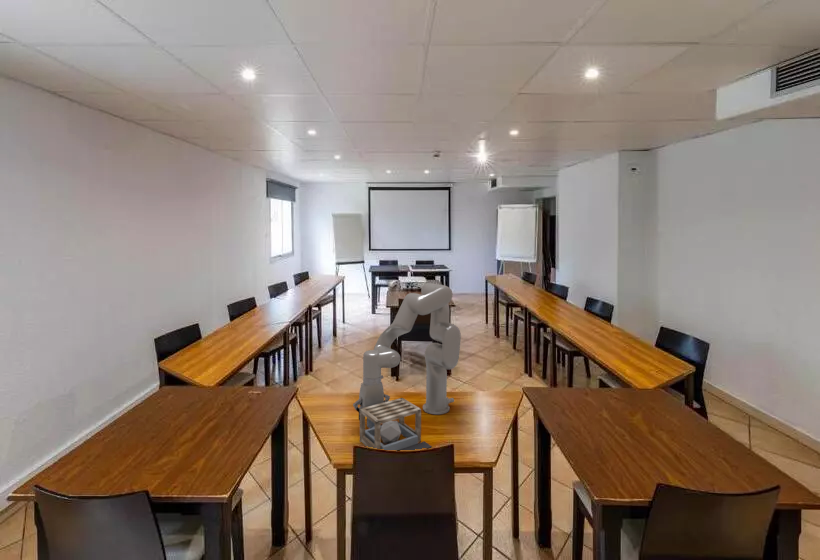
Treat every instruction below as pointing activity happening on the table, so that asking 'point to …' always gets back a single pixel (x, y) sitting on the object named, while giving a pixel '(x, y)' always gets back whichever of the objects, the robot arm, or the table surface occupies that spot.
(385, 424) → the die
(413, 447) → the pit mat
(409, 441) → the tray with upright post
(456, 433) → the table surface
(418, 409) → the tunnel
